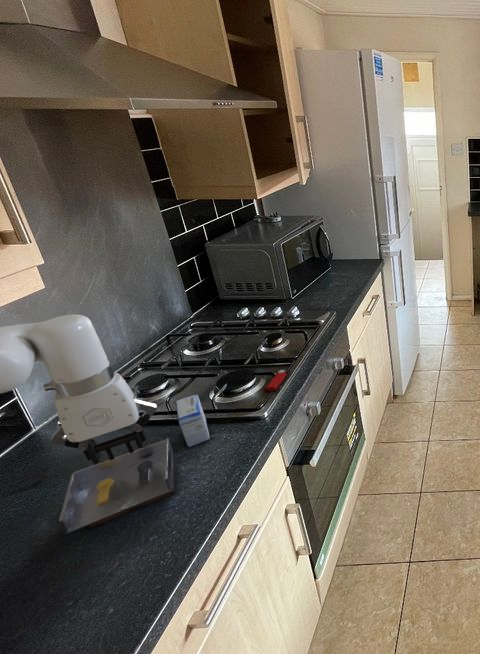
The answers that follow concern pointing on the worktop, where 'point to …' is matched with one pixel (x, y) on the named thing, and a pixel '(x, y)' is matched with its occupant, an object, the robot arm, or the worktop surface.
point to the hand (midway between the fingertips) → (120, 451)
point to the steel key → (144, 471)
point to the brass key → (104, 490)
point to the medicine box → (192, 420)
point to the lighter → (276, 380)
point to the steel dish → (116, 483)
